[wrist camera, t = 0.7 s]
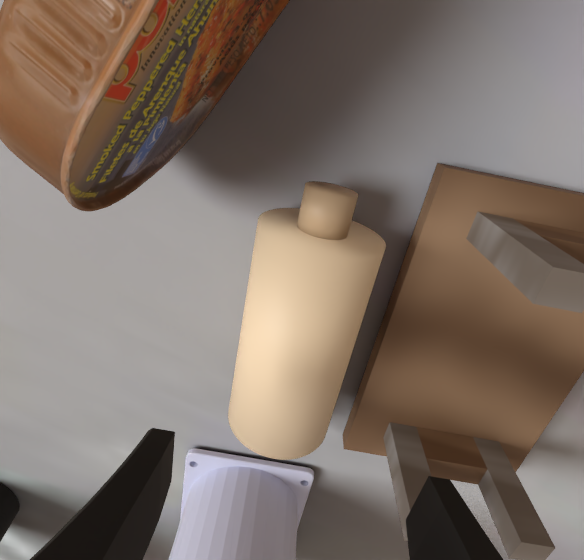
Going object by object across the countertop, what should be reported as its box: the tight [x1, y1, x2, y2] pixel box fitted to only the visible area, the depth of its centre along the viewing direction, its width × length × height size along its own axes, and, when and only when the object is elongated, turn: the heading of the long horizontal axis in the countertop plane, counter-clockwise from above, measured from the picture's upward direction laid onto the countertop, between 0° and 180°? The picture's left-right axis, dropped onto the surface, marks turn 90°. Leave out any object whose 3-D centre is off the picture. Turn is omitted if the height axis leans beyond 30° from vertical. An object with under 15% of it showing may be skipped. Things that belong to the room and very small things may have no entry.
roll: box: [228, 181, 386, 460], centre depth 17 cm, size 13×5×5 cm, turn 169°
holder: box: [343, 163, 584, 560], centre depth 17 cm, size 16×10×6 cm, turn 169°
